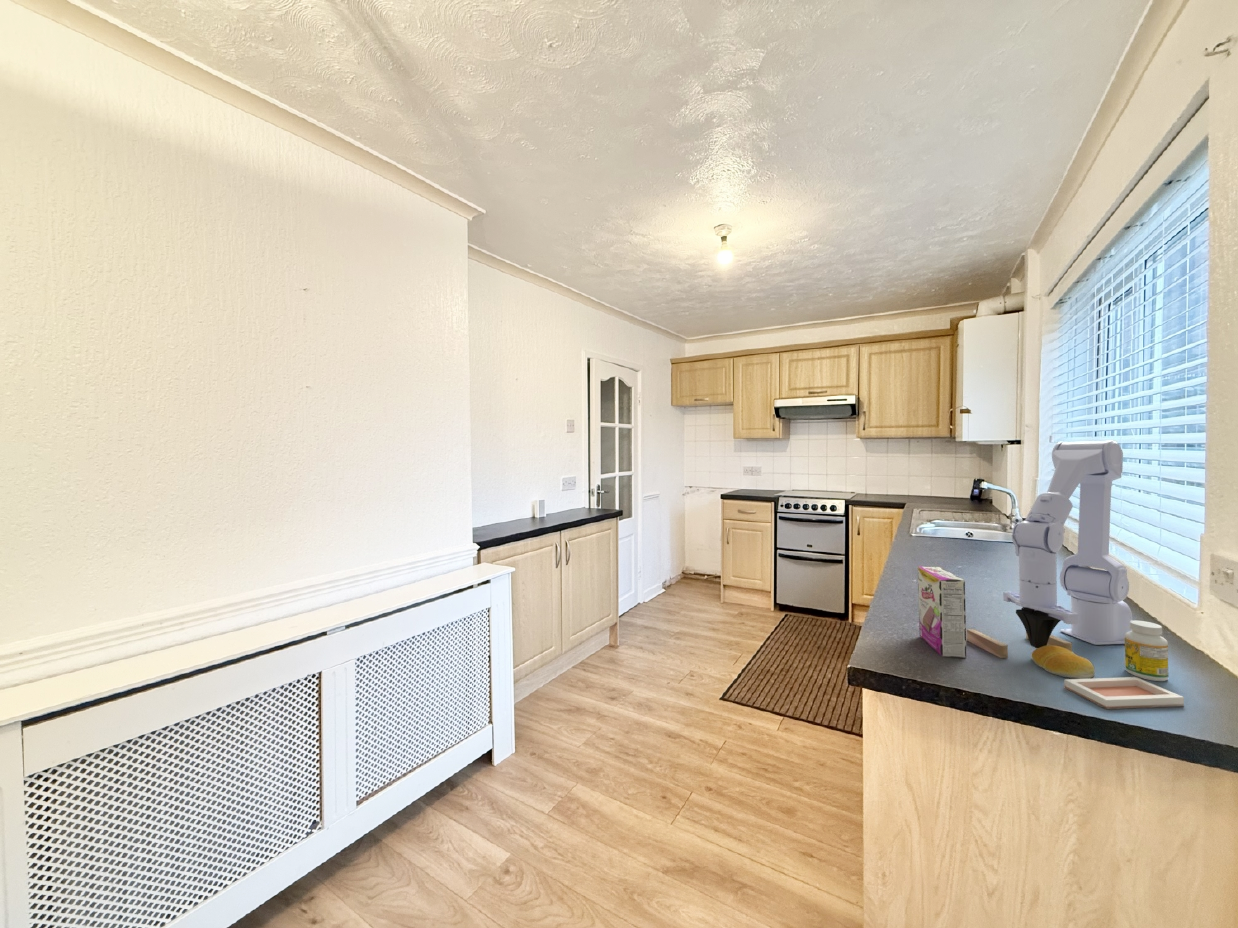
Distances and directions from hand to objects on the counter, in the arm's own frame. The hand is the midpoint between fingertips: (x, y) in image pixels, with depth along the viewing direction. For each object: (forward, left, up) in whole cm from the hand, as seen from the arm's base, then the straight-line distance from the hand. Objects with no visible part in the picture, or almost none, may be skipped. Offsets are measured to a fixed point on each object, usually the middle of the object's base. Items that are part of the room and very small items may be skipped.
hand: (1038, 646), depth 95 cm
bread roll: (0, +5, -3) cm, 6 cm away
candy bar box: (+15, -7, -2) cm, 17 cm away
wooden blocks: (0, -5, -2) cm, 5 cm away
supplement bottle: (-13, +8, -2) cm, 15 cm away
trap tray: (0, +15, -2) cm, 16 cm away
